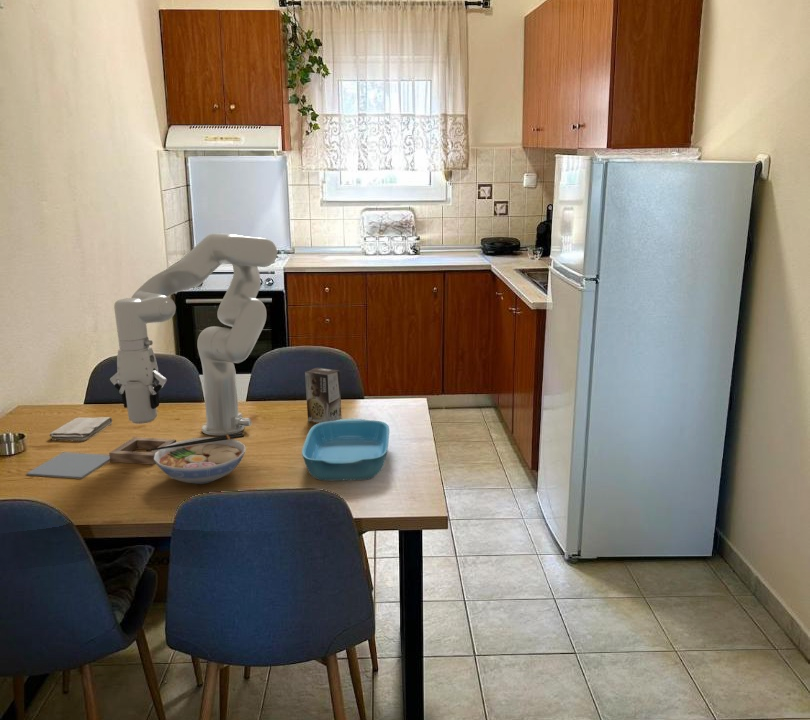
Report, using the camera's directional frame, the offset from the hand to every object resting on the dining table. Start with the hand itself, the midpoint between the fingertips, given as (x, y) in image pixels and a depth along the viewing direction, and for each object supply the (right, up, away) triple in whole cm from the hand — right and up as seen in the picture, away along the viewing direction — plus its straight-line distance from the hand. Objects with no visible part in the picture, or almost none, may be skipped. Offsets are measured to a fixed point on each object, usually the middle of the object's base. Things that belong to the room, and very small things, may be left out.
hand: (141, 406), depth 220 cm
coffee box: (+47, -6, +30) cm, 56 cm away
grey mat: (-17, -16, -5) cm, 24 cm away
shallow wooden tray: (0, -14, +3) cm, 14 cm away
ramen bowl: (+21, -18, -15) cm, 31 cm away
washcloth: (-26, -10, +24) cm, 36 cm away
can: (0, -4, +1) cm, 4 cm away
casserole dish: (+57, -15, -5) cm, 59 cm away
